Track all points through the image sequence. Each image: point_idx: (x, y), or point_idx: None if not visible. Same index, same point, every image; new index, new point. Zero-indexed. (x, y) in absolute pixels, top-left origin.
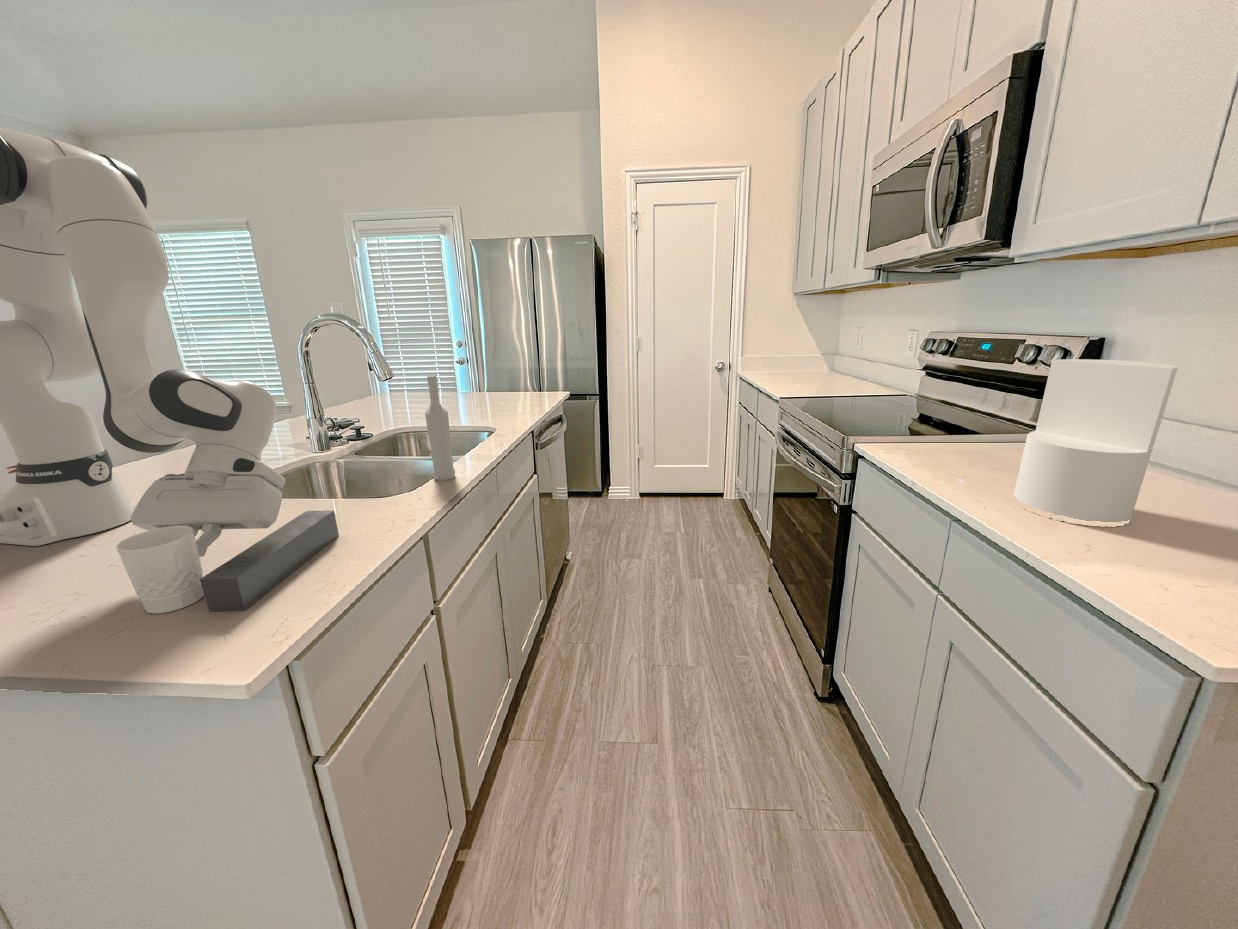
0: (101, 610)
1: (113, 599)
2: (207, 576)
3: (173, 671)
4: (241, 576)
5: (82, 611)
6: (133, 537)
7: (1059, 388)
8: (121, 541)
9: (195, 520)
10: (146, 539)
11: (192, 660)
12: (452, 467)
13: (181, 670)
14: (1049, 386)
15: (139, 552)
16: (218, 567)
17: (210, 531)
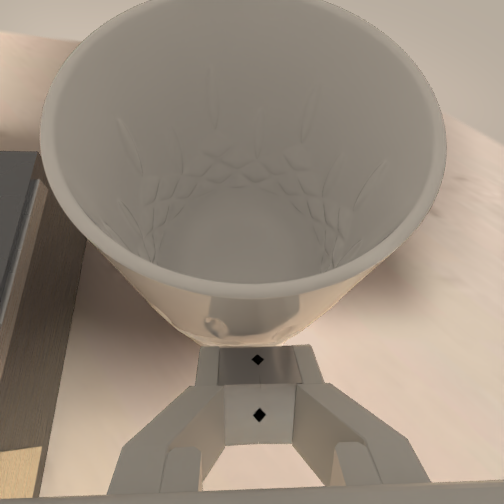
0: (421, 239)
1: (457, 294)
2: (16, 167)
3: (31, 45)
4: None
5: (470, 236)
6: (429, 135)
7: None
8: (419, 70)
9: (253, 495)
10: (399, 209)
11: (11, 67)
12: None
13: (16, 47)
14: None
15: (202, 4)
16: (10, 233)
17: (125, 453)
